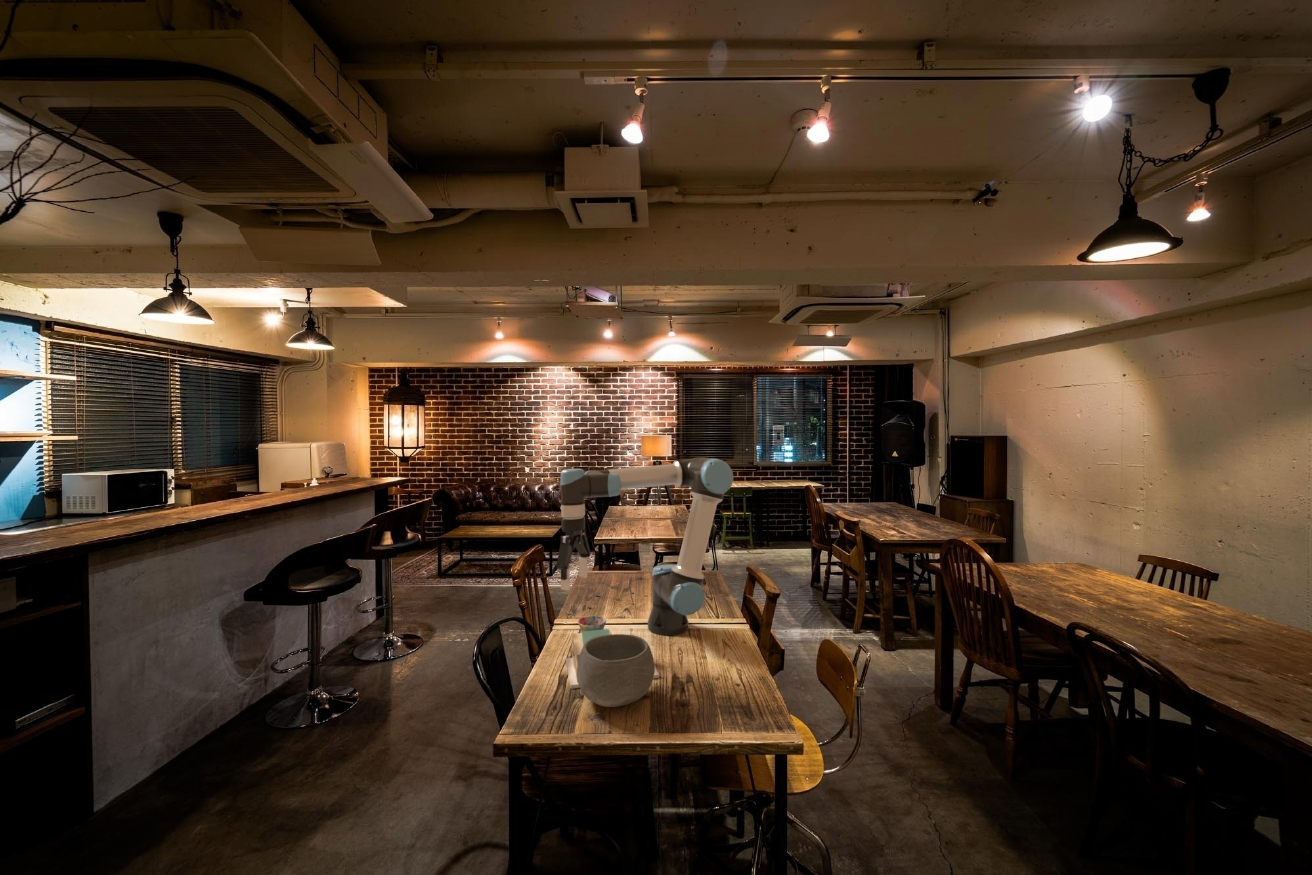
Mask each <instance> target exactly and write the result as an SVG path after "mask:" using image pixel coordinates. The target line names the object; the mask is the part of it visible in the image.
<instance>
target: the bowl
mask: <svg viewBox="0 0 1312 875" xmlns="http://www.w3.org/2000/svg"><path fill="white" fill-rule="evenodd" d="M654 659H655V658H654V656H653V652H652V649H651V647H650V644H649V643H648V642H647V640H645V639H644V638H642V637H641V638H640V636H637V635H634V634H626V633H625V634H623V633H619V634H618V633H616V634H615V633H613V634H612V635H603V636H596V637H594V638H591V639H589V640H588V641H587V642H586V643H585V644H584V646H583V648H582V650H581V652H580V655H579V659H578V665H577V680H578V684H579V686H580V688H579V689H580V690H581V693H582V694H583V695H584V697H585V698H586V699H587V700H588V701H590V702H592V703H594V704H596V705H598V706H601V707H605V708H606V707H607V708H616V707H623V706H625V705H629V704H631V703H634V702H637V701H638V700H640V699H641V698H643V697H644V696H645V695H646V693H647V692H649V690H650V688H651V686H652V684H653V680H654V679H653V677H654V673H655V667H656V665H655V660H654Z"/></svg>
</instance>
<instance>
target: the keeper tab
mask: <svg viewBox="0 0 1312 875" xmlns="http://www.w3.org/2000/svg"><path fill="white" fill-rule="evenodd" d="M609 630H610V629H609V628H606V629H603V630H593V631H583V632H582V639H583V646H584V644H585V643H586V642H587V641H588V640H589V639H591V638H594V637H596V636H603V635H609Z"/></svg>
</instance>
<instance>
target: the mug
mask: <svg viewBox="0 0 1312 875" xmlns="http://www.w3.org/2000/svg"><path fill="white" fill-rule="evenodd" d="M606 623H607V618H605V617H604V616H600V615H589V616H588V615H587V616H583V617H581V618H579V619H578V621H577V624H578V626H579V629H580V633H582V632H583V631H593V630H603V629H604V628H605V626H606Z"/></svg>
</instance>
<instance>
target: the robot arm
mask: <svg viewBox="0 0 1312 875" xmlns="http://www.w3.org/2000/svg"><path fill="white" fill-rule="evenodd" d="M733 482H734V473H733V470H732V468H731V466H730V465H729V464H728V463H727V462H725V461H724V460H721V459H718V458H715V457H711V458H709V457H704V456H703V457H701V456H699V457H694V458H688V459H684V460H683V459H682V460H674V461H673V463H672V464H671V463H669V464H658V465H648V466H647V465H646V466H636V467H634V466H633V467H624V468H614V469H613V468H611V469H600V470H595V469H592V470H591V469H590V470H587V471H584V469H582V468H565V469H563V470H562V471H561V472H560V483H559V485H560V504H561V505H560V510H561V511H560V513H561V517H562V518H561V520H560V522H561V525H560V526H561V529H562V531H564V532H565V535H561V536H560V545H559V550H558V557H557V562H556V565H555V566H556V569H557V570H559V572H560V590H561V591H562V590H564V591H570V589H571V585H570V584H571V576H570V568H569V566H570V562H571V557H572V556H573V555H572V554H573V551H574V550H575V549H576V550H577V552H578V554H579V557H578V577H579V578H588V558H590V556H591V550H590V545H589V541H588V536H587V530H586V518H585V515H586V504H585V503H586V502H585V500H586V499H590V498H605V497H606V498H607V497H609V498H611V497H617V496H619V495H620V494H621V491H622V490H631V489H641V488H643V489H644V488H650V487H652V488H653V487H661V486H662V487H663V486H671V485H672V486H673V485H674V486H675V487H678V488H681V487H687V488H690V495H691V496H692V501H691V502H692V503H691V506H690V510H689V514H688V519H687V523H686V526H685V531H684V535H683V538H682V539H683V540H682V543H681V548H680V552H679V556H678V560H677V563H676V564H673V563H672V564H671V563H670V564H662V565H655V566H654V567H653V569H652V575H651V579H652V581H651V582H652V595H651V596H652V598H651V599H652V605H651V606H652V608H651V610H650V612H649V617H648V620H647V630H648V631H650V632H651V633H653V634H656V635H664V636H674V635H675V636H676V635H680V634H681V635H682V634H684V633H685V632H687V631H688V630H689V624H690V623H689V620H688V619H689V618H688V616H690V615H694V614H696V613H697V612H698V611H699V610H700V609H701V608H703V605H704V603H705V600H706V593H705V590H704V588H703V583H704V579H705V576H704V574H703V573H702V568H703V564H704V559H705V556H706V552H707V547H708V543H709V538H710V536H711V530H712V527H713V523H714V518H715V513H716V511H717V506H718V504H719V503H721V502H722V501H724V496H725V494H726V492H728V491H730V489H731V487H732V486H733Z"/></svg>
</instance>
